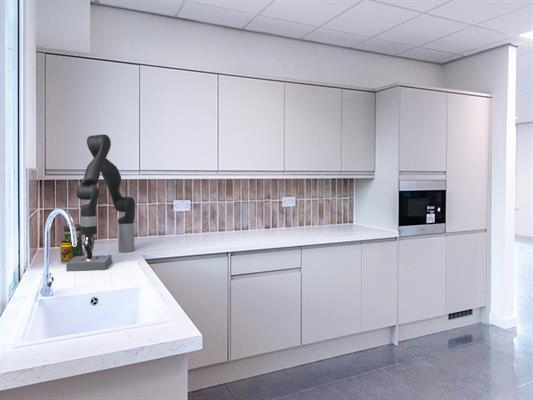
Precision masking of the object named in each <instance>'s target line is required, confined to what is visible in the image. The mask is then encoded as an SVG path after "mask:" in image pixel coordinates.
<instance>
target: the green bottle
mask: <svg viewBox="0 0 533 400" xmlns="http://www.w3.org/2000/svg"><path fill="white" fill-rule="evenodd" d="M68 225H69V224H65V225H63V226H64V227H63V235H64V240H66V239H71V234H70V229H69V226H68ZM75 227H76V232H77V246H76V247H73V258H74V257H75V256H84V249H83V243H82V234H81V223H80V224H79V223H78V224H75Z"/></svg>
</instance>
